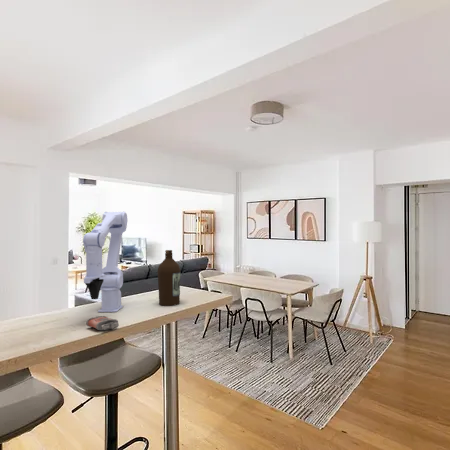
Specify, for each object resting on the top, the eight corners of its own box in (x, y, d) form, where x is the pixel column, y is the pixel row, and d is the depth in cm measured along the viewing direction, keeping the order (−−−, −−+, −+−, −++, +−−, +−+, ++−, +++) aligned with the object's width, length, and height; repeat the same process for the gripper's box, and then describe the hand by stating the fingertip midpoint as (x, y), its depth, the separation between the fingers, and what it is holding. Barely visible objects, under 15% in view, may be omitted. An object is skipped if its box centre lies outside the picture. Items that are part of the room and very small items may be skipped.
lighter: (107, 314, 119) (122, 319, 113) (106, 323, 119) (121, 328, 113) (86, 318, 113) (101, 323, 107) (85, 327, 113) (100, 333, 107)
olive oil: (153, 305, 145) (152, 251, 145) (165, 300, 155) (164, 249, 155) (174, 307, 142) (173, 251, 142) (184, 301, 152) (184, 249, 152)
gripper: (97, 265, 115) (97, 303, 115) (111, 261, 129) (111, 294, 129) (77, 266, 115) (78, 303, 115) (93, 261, 129) (94, 294, 129)
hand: (94, 298), depth 122 cm, fingers closed
